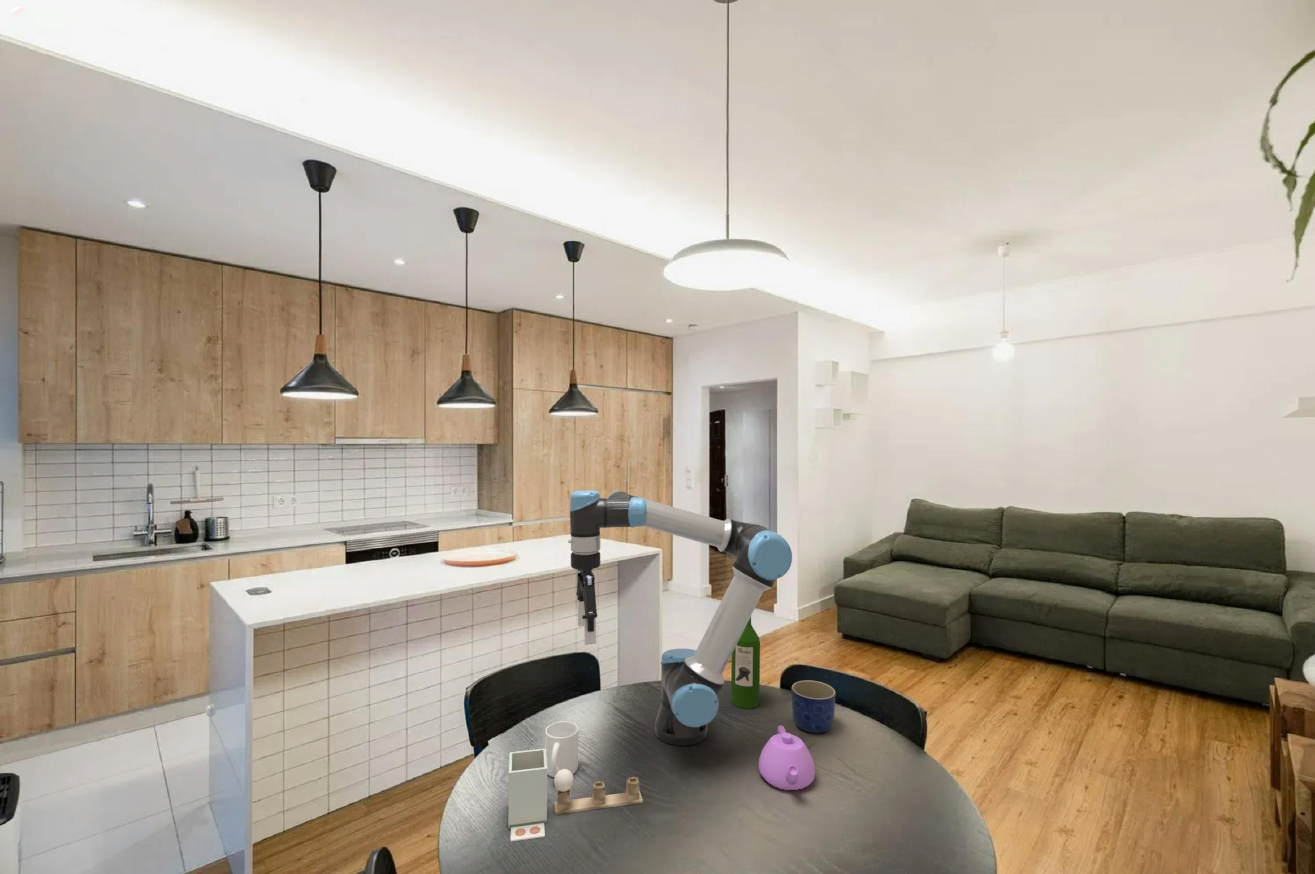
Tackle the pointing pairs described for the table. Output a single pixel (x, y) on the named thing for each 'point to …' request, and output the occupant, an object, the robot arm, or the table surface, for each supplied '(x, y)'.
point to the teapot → (786, 762)
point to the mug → (561, 747)
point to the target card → (527, 832)
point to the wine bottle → (746, 670)
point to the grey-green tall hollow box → (527, 788)
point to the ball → (563, 780)
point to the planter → (813, 706)
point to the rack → (599, 798)
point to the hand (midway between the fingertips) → (586, 634)
